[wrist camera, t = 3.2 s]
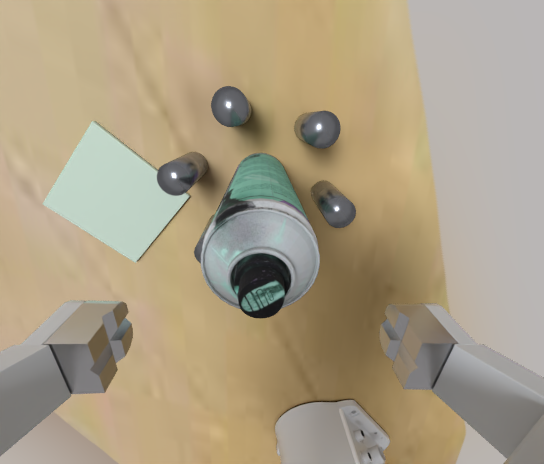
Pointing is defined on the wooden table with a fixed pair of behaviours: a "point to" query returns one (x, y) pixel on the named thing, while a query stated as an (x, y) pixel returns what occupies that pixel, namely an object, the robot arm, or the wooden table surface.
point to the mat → (113, 194)
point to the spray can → (260, 241)
